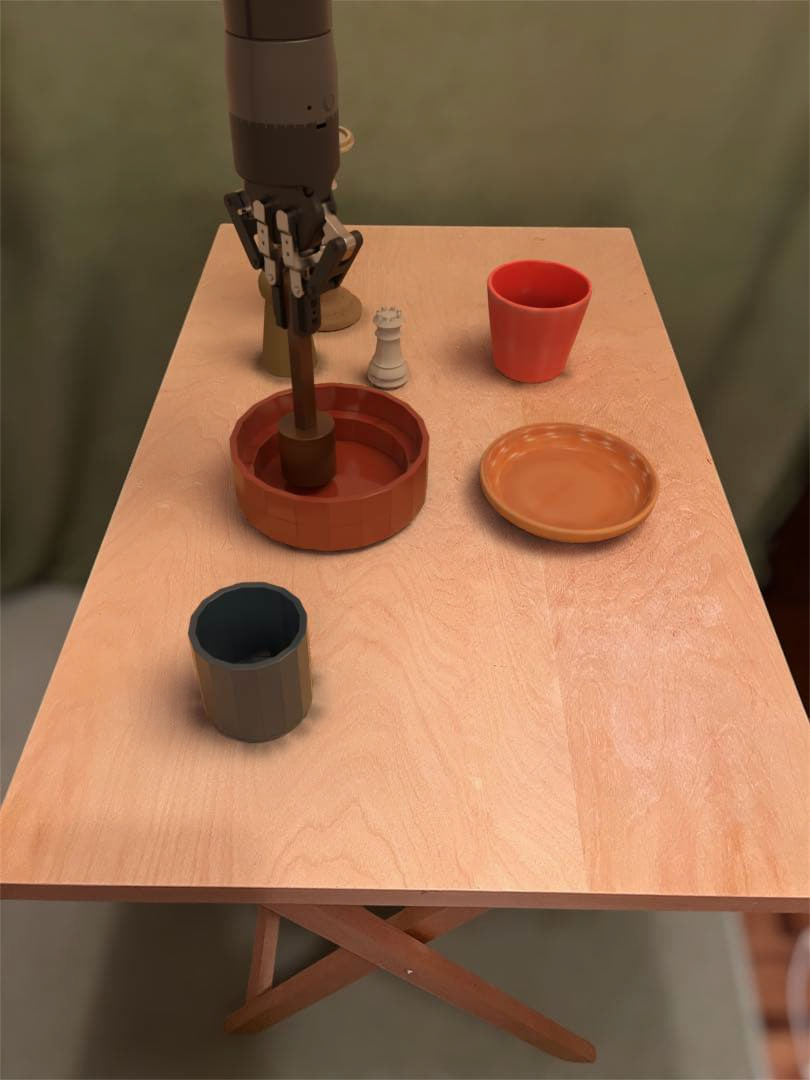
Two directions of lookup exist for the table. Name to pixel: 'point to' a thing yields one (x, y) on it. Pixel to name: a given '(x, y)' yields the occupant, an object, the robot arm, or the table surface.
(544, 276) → the flower pot
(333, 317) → the candle holder
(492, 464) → the saucer
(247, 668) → the crock
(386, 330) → the rook chess piece
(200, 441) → the table surface
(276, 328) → the brown peg figure
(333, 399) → the bowl
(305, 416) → the wooden pestle
